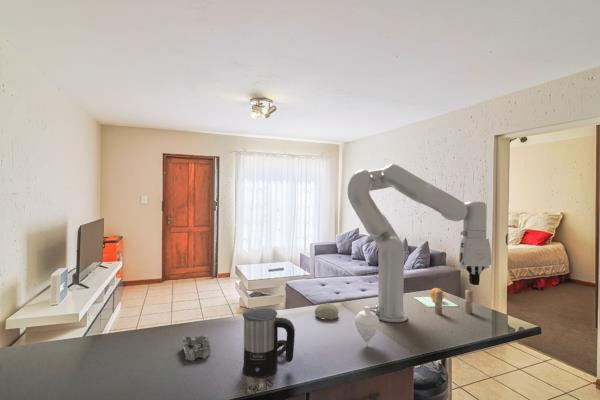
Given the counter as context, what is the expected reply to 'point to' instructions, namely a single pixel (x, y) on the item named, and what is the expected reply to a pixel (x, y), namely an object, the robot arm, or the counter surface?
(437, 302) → the left post
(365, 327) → the spinning top
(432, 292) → the ball
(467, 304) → the right post
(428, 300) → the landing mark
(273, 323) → the milk frother
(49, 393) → the counter surface
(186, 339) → the egg carton
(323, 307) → the sea urchin shell
